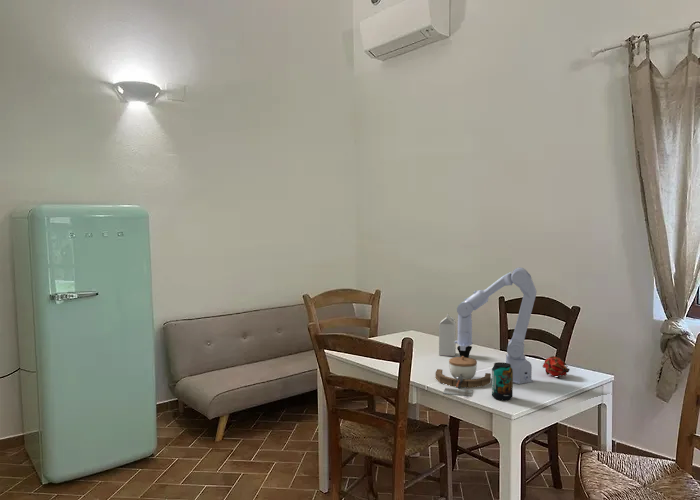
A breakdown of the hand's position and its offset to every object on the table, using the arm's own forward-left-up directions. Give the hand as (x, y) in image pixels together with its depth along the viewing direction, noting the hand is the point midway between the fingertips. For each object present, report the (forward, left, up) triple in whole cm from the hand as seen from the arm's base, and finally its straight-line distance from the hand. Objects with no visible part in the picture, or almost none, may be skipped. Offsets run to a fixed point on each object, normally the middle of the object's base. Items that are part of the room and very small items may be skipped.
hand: (464, 364), depth 213 cm
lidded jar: (-5, +5, -5) cm, 8 cm away
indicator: (-14, +14, -2) cm, 19 cm away
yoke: (-11, +10, -4) cm, 15 cm away
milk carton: (+31, -15, -5) cm, 34 cm away
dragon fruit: (-18, -32, -5) cm, 37 cm away
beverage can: (-28, +6, -5) cm, 29 cm away
